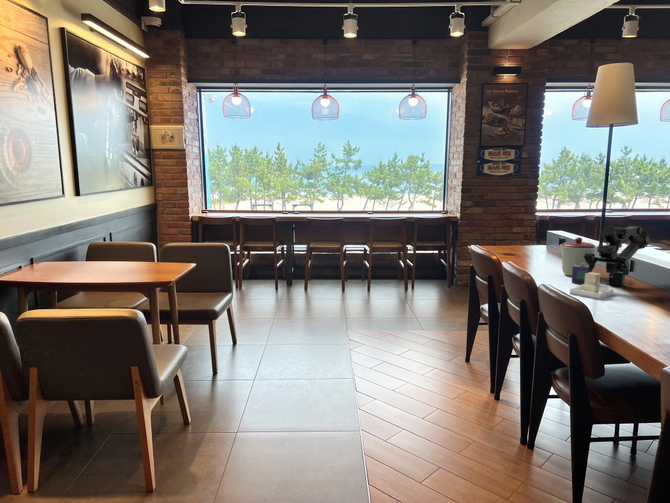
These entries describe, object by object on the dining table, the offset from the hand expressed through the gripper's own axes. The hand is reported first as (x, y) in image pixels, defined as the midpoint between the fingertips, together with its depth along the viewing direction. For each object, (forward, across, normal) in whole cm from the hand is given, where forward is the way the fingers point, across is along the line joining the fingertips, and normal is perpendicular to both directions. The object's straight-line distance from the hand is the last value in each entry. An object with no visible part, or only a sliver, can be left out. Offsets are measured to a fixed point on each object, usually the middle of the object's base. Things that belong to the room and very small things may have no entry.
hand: (599, 274), depth 222 cm
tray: (+11, 0, +1) cm, 11 cm away
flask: (-2, -13, +15) cm, 20 cm away
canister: (-14, -24, +26) cm, 39 cm away
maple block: (+10, 0, 0) cm, 10 cm away
